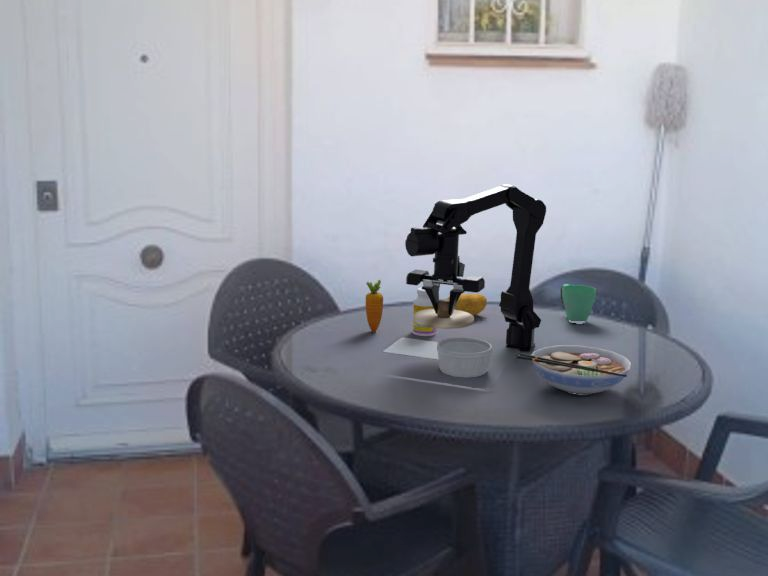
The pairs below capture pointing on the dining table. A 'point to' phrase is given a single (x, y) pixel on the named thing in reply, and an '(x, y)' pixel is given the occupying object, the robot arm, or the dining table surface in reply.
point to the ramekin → (464, 356)
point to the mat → (414, 348)
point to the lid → (443, 317)
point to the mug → (577, 301)
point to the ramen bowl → (579, 367)
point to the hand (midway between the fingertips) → (444, 314)
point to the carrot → (374, 306)
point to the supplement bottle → (420, 304)
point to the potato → (471, 303)
